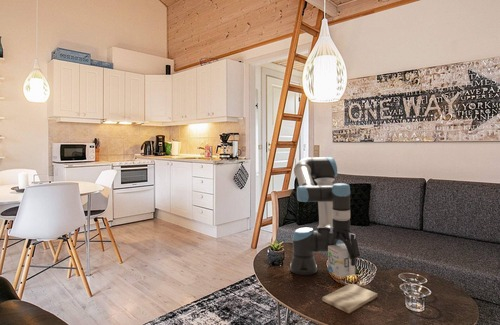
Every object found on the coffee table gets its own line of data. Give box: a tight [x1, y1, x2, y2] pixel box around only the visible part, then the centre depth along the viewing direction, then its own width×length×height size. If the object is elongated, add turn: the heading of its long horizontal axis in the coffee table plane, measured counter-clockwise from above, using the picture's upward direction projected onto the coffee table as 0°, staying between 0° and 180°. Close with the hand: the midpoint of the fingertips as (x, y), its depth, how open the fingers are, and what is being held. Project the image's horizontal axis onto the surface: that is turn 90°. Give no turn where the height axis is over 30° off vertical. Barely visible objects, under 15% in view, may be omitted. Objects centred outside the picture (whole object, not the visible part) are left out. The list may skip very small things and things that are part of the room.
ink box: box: [327, 242, 356, 278], centre depth 137 cm, size 9×8×12 cm
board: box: [321, 283, 378, 314], centre depth 141 cm, size 14×22×2 cm, turn 127°
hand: (341, 268), depth 137 cm, fingers closed on ink box, 9 cm apart
